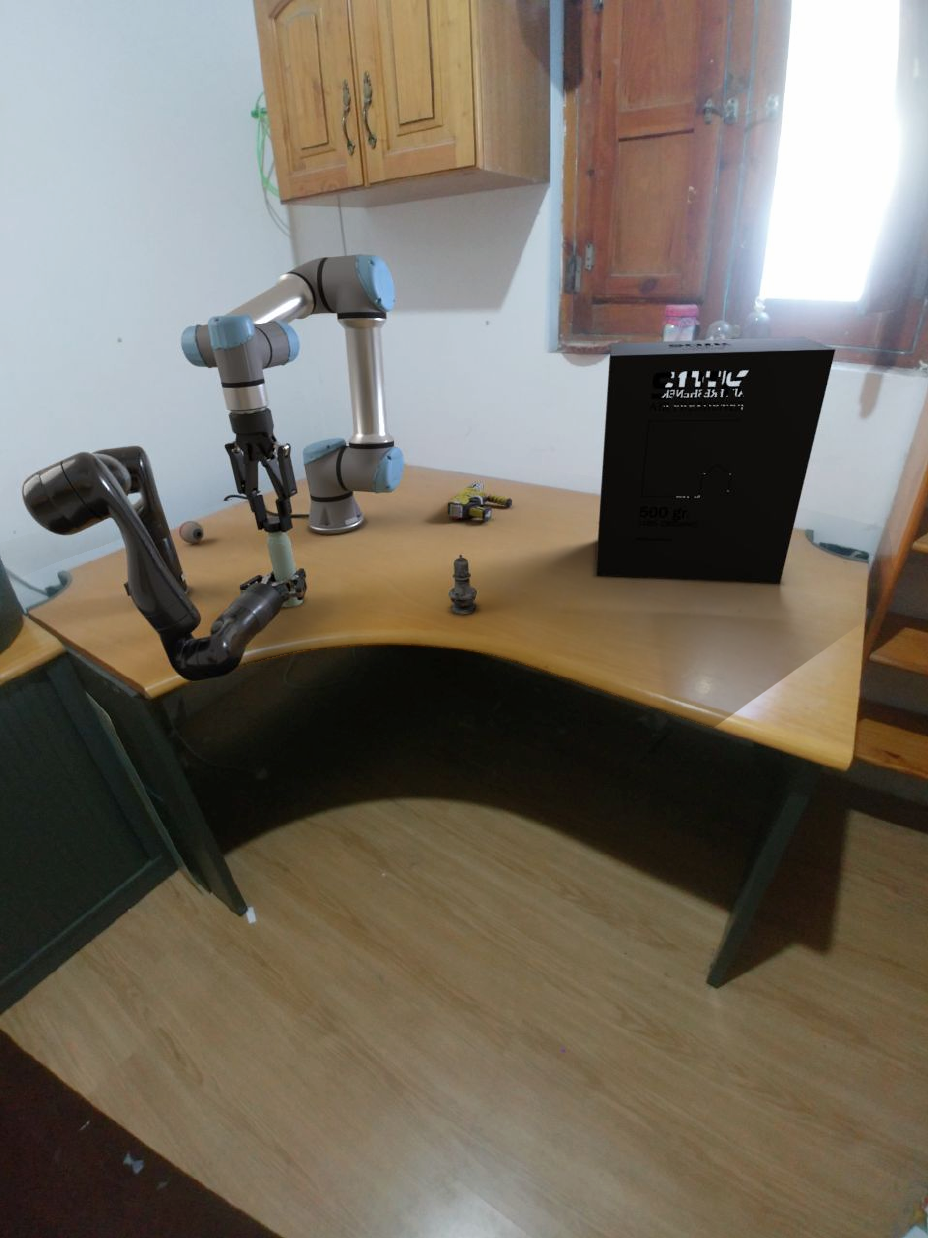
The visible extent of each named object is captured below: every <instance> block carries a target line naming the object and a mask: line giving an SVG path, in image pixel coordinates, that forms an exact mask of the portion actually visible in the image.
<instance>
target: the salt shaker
mask: <svg viewBox="0 0 928 1238" xmlns="http://www.w3.org/2000/svg"><path fill="white" fill-rule="evenodd" d="M453 571H454V572H453V575H452V578H453V579H454V587H453V588H451V589H449V591H448V597H449V598H450V601H451V602H452V603H453V604H452V605H451V606H450V610H451V612H453V613H454V614H456V615H469V614H472V613H474V612H476V610H477V604H476V603H475V601H476V598H477V595H478V590H477V589H476V588H475V587H473V586H471V581H470V580H471V579H470V578H471V577H472V574H471V573H470V569H469V560H468V559H467V558H465V557H463V555H462V554H459V555H458V558H455V560H454V561H453Z"/></svg>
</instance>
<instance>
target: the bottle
mask: <svg viewBox="0 0 928 1238" xmlns="http://www.w3.org/2000/svg"><path fill="white" fill-rule="evenodd" d="M267 534H268V535H267V540H266V545H267V550H268V554H269V559H270V564H271V568H272V571H273V572H274V576H275V581H276V582H279V581H281V580H282V579H284V578H290V577H292V576H293V575H294V574H295V573H296V572H297V567H296V563H295V558H294V553H293V548H292V544H291V539H290V537H289V536H288V534H287V532H282V531H280V532H275V533H268V532H267ZM293 585H294V582H292V586H293ZM303 600H304V599H303ZM303 600H298V599H297V597H290V599H289V600H287V601H285V602H284V603H283V605H282V608H283V607H284V608H294V607H298V606H299V605H301V604H302V603H303Z"/></svg>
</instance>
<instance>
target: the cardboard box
mask: <svg viewBox="0 0 928 1238" xmlns="http://www.w3.org/2000/svg"><path fill="white" fill-rule="evenodd" d="M835 354H836V349H835V348H833V347H830V346H829V345H826V344H823V343H821V342H818V341H815V340H813V339H811V338H808V337H805V336H793V337H791V336H790V337H762V338H761V337H757V338H729V339H727V338H726V339H700V340H699V339H698V340H696V339H695V340H671V341H670V340H669V341H668V340H667V341H665V340H664V341H639V342H638V341H637V342H611V343H610V346H609V357H608V358H609V361H608V376H607V388H606V389H607V390H606V395H607V396H606V404H605V405H606V407H605V408H606V409H605V421H604V436H603V437H604V438H603V452H602V453H603V454H602V466H601V467H602V469H601V470H602V472H601V483H600V484H601V485H600V499H599V501H600V502H599V515H598V531H597V532H598V533H597V546H596V547H597V548H596V549H597V551H596V572H595V575H596V576H598V577H599V576H601V577H620V578H621V577H623V578H624V577H625V578H644V579H645V578H647V579H671V580H691V581H693V580H694V581H713V582H714V581H717V582H738V583H739V582H740V583H741V582H742V583H760V584H762V583H763V584H781V582H782V577H783V573H784V569H785V565H786V560H787V557H788V551H789V547H790V543H791V539H792V535H793V530H794V526H795V522H796V519H797V513H798V511H799V510H798V509H799V505H800V501H801V497H802V492H803V488H804V484H805V481H806V477H807V471H808V469H809V463H810V459H811V454H812V451H813V447H814V443H815V438H816V434H817V430H818V425H819V421H820V416H821V413H822V408H823V404H824V400H825V395H826V391H827V387H828V384H829V383H828V382H829V378H830V374H831V370H832V365H833V361H834V357H835ZM746 371H747V372H746ZM685 372H686V375H685V376H686V377H685V379H684V386H680V382H681V377H680V375H681V374H683V373H685ZM693 372H698V374H697V377H696V376H693ZM708 372H709V376H707V374H708ZM741 372H746V373H745V375H744V376H739V374H740V373H741ZM729 374H730V377H729V382H738V385H733V386H732V385H728V383H727V380H728V376H729ZM709 382H710V383H715V384H714V386H709ZM696 383H699V385H698V386H696ZM667 384H672V386H667Z"/></svg>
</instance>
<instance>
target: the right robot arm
mask: <svg viewBox="0 0 928 1238" xmlns="http://www.w3.org/2000/svg"><path fill="white" fill-rule="evenodd" d="M395 300H396V291H395V284H394V280H393V277H392V274H391V271H390V269H389V268H388V265H387V263H386V262H385V261H384V260H383V259H382V258H381V257H380V256H379V255H376V254H363V253H361V254H359V253H358V254H351V255H350V254H349V255H339V256H323V257H322V256H321V257H317V258H315V259H312V260H309V261H307V262H304V263H302V264H301V265H298V266H297V267H295V268H293V269H291V270H288V272H286V273H283V274H282V275H281V276H279V277H278V278H277V280H276V282H275V285H274V286H272V287H271V288H268V289H267V290H265V291H264V292H261V293H259V294H258V295H256V296H254V297H253V298H251V299H249V300H248V301H246V302H244V303H242V304H241V305H239V306H237V307H236V308H233V309H232V310H230V311H229V312H227V313H225V314H224V315H215V316H211V317H210V318H209V319H208V320H207V324H198V323H197V324H195V325H189V326H187V327H185V328H184V329H183V331H182V332H181V333H182V334H181V336H180V346H181V347H180V348H181V350H182V352H183V354H184V357H185V359H186V360H187V361H188V362H189V363H190V364H191V365H193V366H195V367H198V368H208V369H212V368H217V372H218V374H219V378H220V379H219V380H220V385H221V389H222V394H223V399H224V404H225V407H226V410H228V411H230V412H229V414H228V419H229V424H230V427H231V431H232V433H233V434H234V435H235V439H234V440H233V441H231V442H230V441H229V442H228V443H225V444H224V449H225V451H226V453H227V455H228V458H229V461H230V465H231V469H232V472H233V478H234V482H235V483H234V484H235V487H236V492H237V494H229V495H227V496H225V497H224V498H223V502H227V501H228V500H229V499H233V498H237V499H242V500H246V501H248V503H249V507H250V508H249V509H250V510H251V513H252V514H254V519H255V522H256V527H257V530H258V531H262V530H264V527H263V520H264V519H266V518H269V517H268V515H269V516H272V517H274V516H279V521H280V525H281V530H282V532H285V533H287V532H289V531H290V530H292V529H293V528H294V525H293V520H292V518H308V521H307V524H308V528H309V529H308V530H310V531H311V532H312V533H314V534H317V535H323V536H324V535H325V536H327V535H329V536H331V535H339V534H340V535H341V534H345V533H350V532H353V531H355V530H357V529H359V528H361V527H362V526H363V525H364V523H365V519H364V514H363V512H362V510H361V508H360V505H359V504H358V501H357V500H356V498H355V495H354V492H359V493H374V494H390V493H392V492H394V491H395V490H396V489H397V488H398V487H399V485H400V483H401V481H402V479H403V475H404V467H405V456H404V454H403V450H402V449H401V448H400V447H398V446H395V438H394V437H393V436H392V435H391V434H390V433H389V432H388V418H387V401H386V389H385V387H386V386H385V385H386V384H385V372H384V356H383V341H382V339H383V338H382V329H383V328H382V327H383V326H384V325H385V324H386V323H387V321H388V317H387V313H389V312H390V311H392V310H393V309H394V306H395V303H394V302H395ZM319 314H336V320H337V323H339V325H341V327H342V328H343V329H344V338H345V350H346V360H347V371H348V383H349V394H350V407H351V420H352V428H353V429H352V431H353V433H352V435H351V436H350V438H348V441H346V439H345V438H342V437H334V438H328V439H323V440H320V441H319V440H318V441H316V442H313V443H309V444H308V445H306V446H305V447H304V448H303V450H302V457H303V458H302V460H303V467H304V471H305V477H306V481H307V486H308V492H309V498H310V507H309V513H296V514H295V513H293V507H292V502H291V498H292V497H294V496H296V495H297V494H298V487H297V483H296V482H297V481H296V477H295V472H294V468H293V463H292V458H291V451H292V446H291V444H290V443H288V442H287V443H283V442H280V441H278V439H277V438H276V436H275V433H274V428H275V423H274V419H273V414H272V410H271V408H268V407H269V405H270V399H269V396H268V391H267V386H266V381H265V376H264V371H263V370H267V369H270V368H274V367H279V366H282V367H283V366H286V365H287V364H289V363H291V362H293V361H295V360H296V359H297V357H298V356H299V353H300V347H301V346H300V345H301V344H300V339H299V336H298V334H297V332H296V330H295V329H294V327H293V326H291V325H290V323H292V322H293V321H294V320H304V319H306V318H308V317H309V316H313V315H319ZM347 442H348V443H347ZM347 444H348V445H347ZM259 462H260V464H261V466H262V467H263V468H264V469H265V471H266V474H267V475H268V478H269V480H270V483H271V485H272V487H273V489H274V491H275V495H276V496H277V498H276V499H275V500H274V501H275V507H276V511H277V512H273V511H270V510H267V508H266V504H265V499H264V496H263V494H260V493H261V490H260V489H259Z"/></svg>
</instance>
